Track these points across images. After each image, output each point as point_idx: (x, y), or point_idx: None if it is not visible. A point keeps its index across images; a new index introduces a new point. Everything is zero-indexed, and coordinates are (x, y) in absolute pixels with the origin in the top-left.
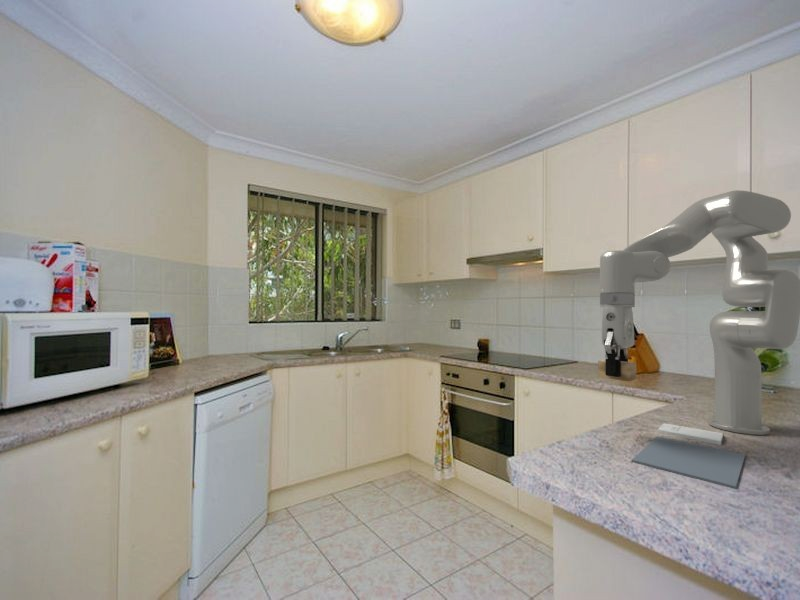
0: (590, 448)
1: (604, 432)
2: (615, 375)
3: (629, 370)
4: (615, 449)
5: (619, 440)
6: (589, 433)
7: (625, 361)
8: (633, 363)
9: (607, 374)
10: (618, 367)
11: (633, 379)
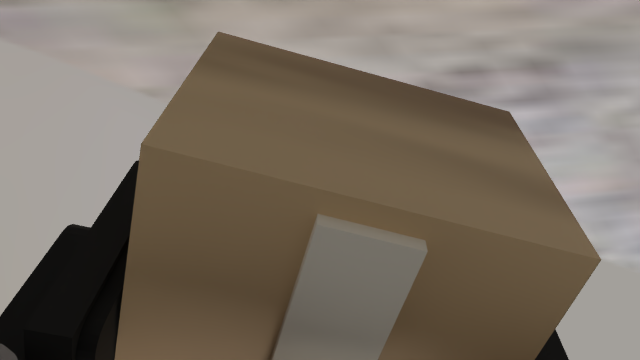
0: (612, 134)
1: None
2: None
3: (552, 187)
4: (575, 27)
5: (387, 16)
6: None
7: (110, 314)
8: (336, 191)
9: None
10: None
11: (338, 68)
